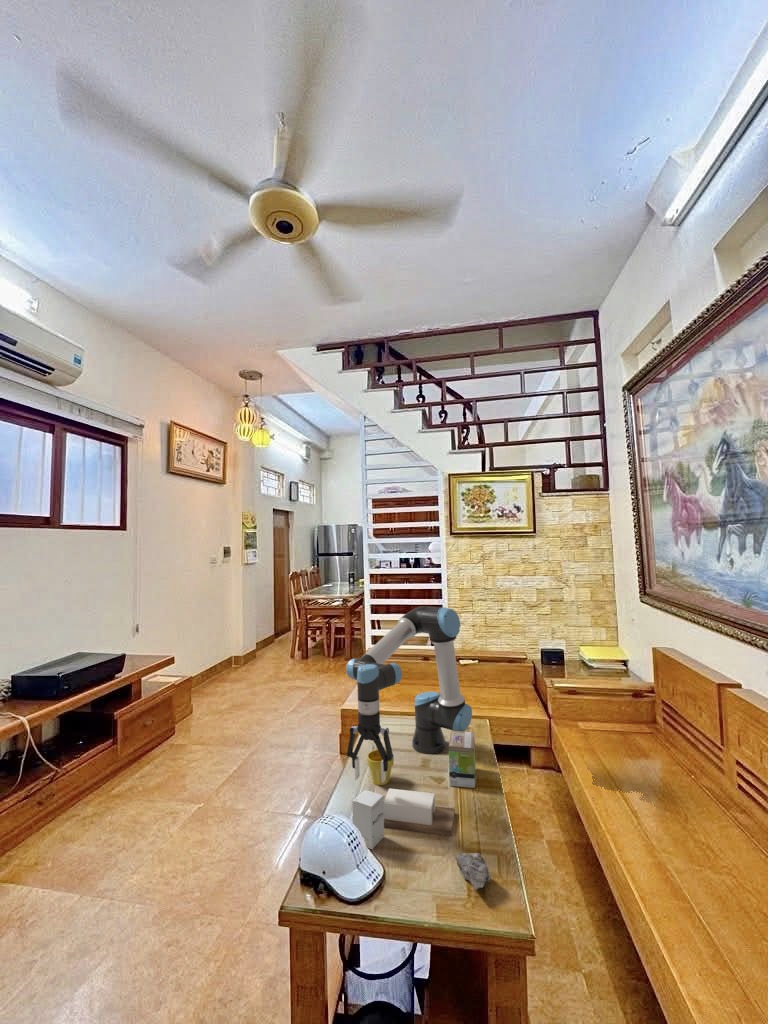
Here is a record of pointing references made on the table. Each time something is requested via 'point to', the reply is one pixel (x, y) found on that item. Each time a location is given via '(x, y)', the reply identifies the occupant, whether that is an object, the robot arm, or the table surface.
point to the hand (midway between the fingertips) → (370, 779)
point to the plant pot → (378, 767)
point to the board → (440, 825)
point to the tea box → (462, 759)
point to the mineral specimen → (473, 869)
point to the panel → (409, 806)
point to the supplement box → (369, 816)
